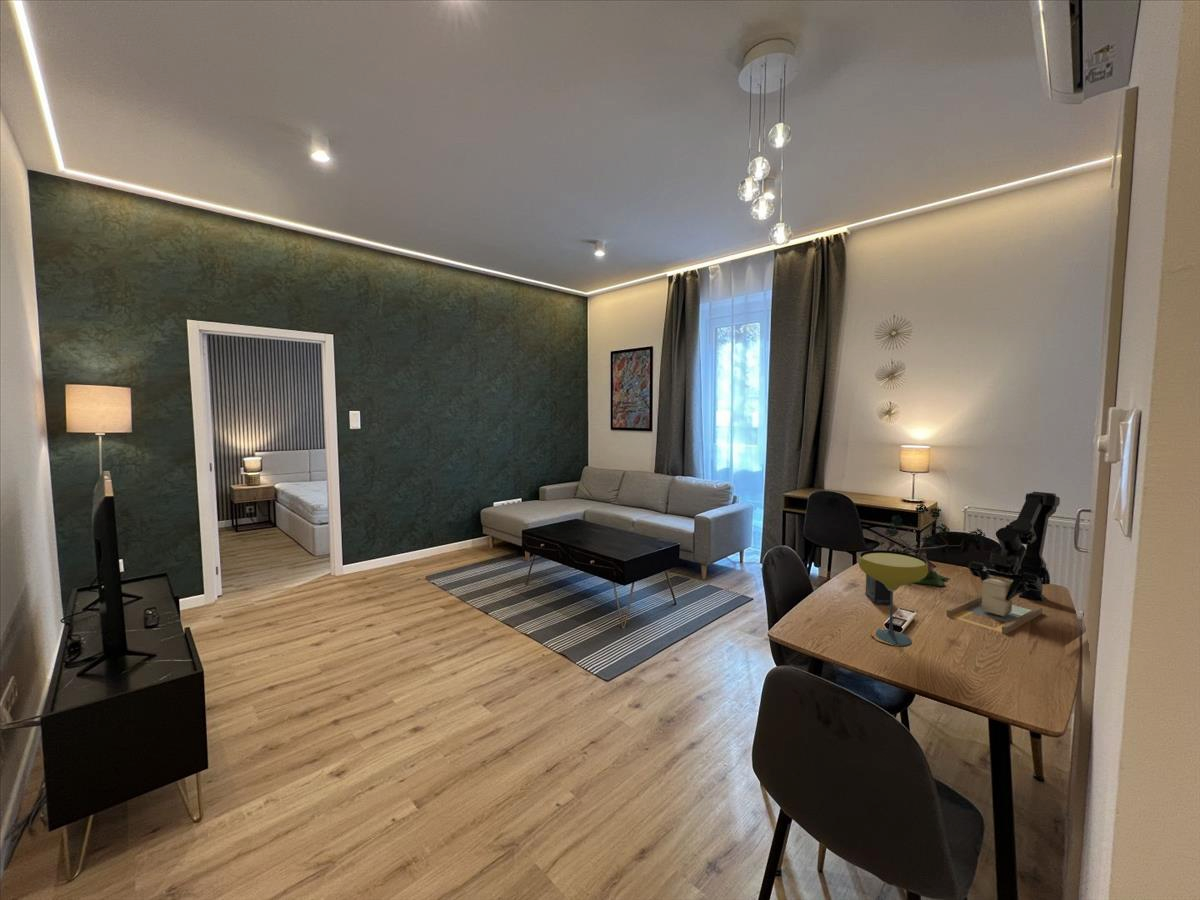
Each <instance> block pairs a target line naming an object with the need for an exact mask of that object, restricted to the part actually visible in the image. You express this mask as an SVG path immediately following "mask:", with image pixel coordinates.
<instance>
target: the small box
mask: <svg viewBox="0 0 1200 900" xmlns="http://www.w3.org/2000/svg"><path fill="white" fill-rule="evenodd" d="M864 592H865V594H866V595H867V596H866V595H865V596H866V597H867V598H868V599H869V601H870V602H872V603H873V605H875V604H876V605H878V606H879V605H881V606H890V595H891V591H889V590H888V589H887V588H886V586H885V585H884V584H883V583H881V582H880V581H878V580H876V579H874V578H872V577H870V576H869V575H867V574H866V573H865V591H864Z"/></svg>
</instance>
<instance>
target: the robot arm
mask: <svg viewBox="0 0 1200 900" xmlns="http://www.w3.org/2000/svg"><path fill="white" fill-rule="evenodd" d="M1024 499H1025V501H1024V504H1023V505H1022V508H1021V509H1020V512H1019V514H1018V515H1017V518H1016V519H1015V520H1012V521H1011V522H1010V523H1008V524H1006V525H1005V527H1001V528H999V529H997V530H996V531H995V537H996V539H997V541H998V543H999V545H1000V546H999V547H1001V549H1002V551H1001V553H1000V554H999V553H993V552H991V553H990V558H989V563H990V564H991V567H992V568H994V569H991V568H988V567H987V566H986V565H985V563H983V562H977V561H970V562H969V564H968V566H967V568H968V570H969V571H970V573H971V575H973V576H974V577H977V578H980V580H981V582H982V581H983V580H986V579H988V578H990V577H991V576H994V577H998V578H1000V579H1001V578H1002V579H1007V580H1011V581H1012V582H1013V584H1012V586H1011V588H1010V590H1009V592H1008V594H1007V597H1006V600H1007V601H1009V600H1010V599H1012V600H1013V598H1015V597H1016V596H1017V595H1018V597H1019V598H1024V599H1028V600H1033V601H1038V602H1039V601H1040V602H1043V601H1044V598H1045V595H1044V594H1043V585H1044V586H1045V585H1050V584H1051V576H1050V571H1049V569H1048V568H1047V562H1046V561H1045V559H1044V557H1043V552H1044V548H1045V547H1044V546H1045V541H1046V535H1047V529H1048V524H1049V518H1050V517H1052V515H1054V514H1056V512H1057V508H1058V507H1060V504H1061V503H1060V502H1061V498H1060V496H1057V494H1056V493H1054V492H1045V491H1044V492H1043V491H1042V492H1041V491H1032V492H1029V493H1026V494H1025V497H1024ZM1024 545H1025V546H1026V547H1025V546H1024Z"/></svg>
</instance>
